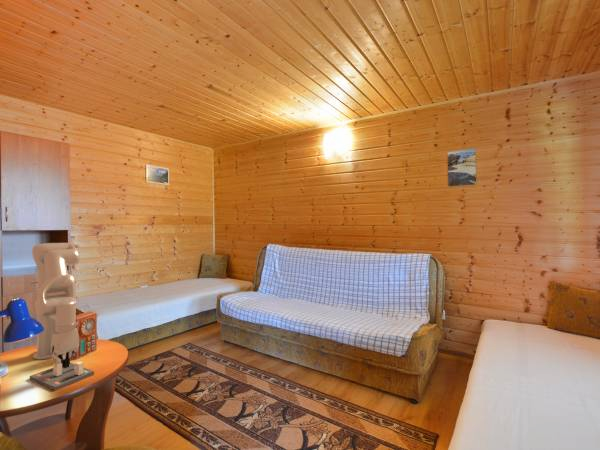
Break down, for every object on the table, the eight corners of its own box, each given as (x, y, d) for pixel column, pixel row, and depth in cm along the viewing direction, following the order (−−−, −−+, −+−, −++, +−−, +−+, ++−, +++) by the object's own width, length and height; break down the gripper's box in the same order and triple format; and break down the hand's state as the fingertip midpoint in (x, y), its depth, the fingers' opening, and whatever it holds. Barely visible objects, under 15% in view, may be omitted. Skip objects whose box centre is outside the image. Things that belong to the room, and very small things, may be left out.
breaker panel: (29, 379, 141) (29, 375, 141) (68, 365, 156) (68, 361, 156) (55, 390, 132) (55, 386, 132) (94, 374, 146) (94, 371, 146)
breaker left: (56, 366, 150) (56, 356, 150) (61, 365, 151) (61, 354, 151) (60, 368, 148) (60, 357, 148) (64, 366, 150) (64, 356, 150)
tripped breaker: (53, 374, 142) (53, 363, 142) (58, 372, 144) (58, 362, 144) (57, 376, 141) (57, 365, 140) (62, 374, 142) (62, 363, 142)
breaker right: (74, 373, 143) (74, 362, 143) (79, 371, 145) (79, 361, 145) (78, 375, 142) (78, 364, 142) (83, 373, 144) (83, 362, 143)
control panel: (99, 349, 175) (75, 360, 161) (89, 348, 177) (64, 359, 162) (100, 311, 175) (76, 319, 161) (89, 310, 177) (64, 318, 162)
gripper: (78, 321, 153) (77, 359, 153) (42, 331, 140) (42, 372, 140) (87, 324, 150) (87, 362, 150) (51, 334, 136) (51, 375, 137)
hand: (65, 366), depth 145 cm, fingers closed
